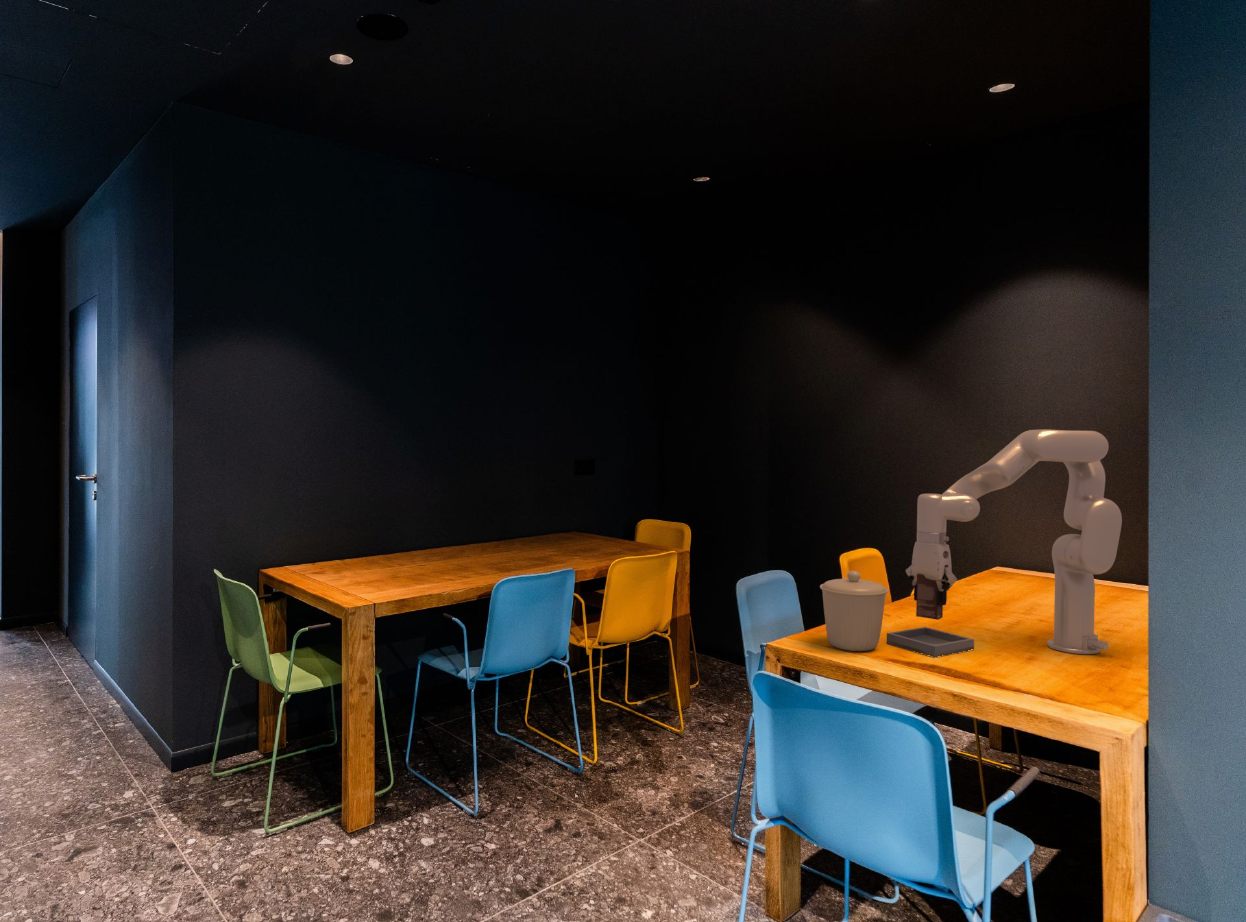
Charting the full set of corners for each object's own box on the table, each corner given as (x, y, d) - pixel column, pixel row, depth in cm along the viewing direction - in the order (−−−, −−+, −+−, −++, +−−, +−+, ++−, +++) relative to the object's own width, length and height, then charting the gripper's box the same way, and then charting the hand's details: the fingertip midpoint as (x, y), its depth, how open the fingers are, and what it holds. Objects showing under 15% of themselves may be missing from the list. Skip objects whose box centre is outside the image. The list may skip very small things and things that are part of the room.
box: (943, 617, 209) (944, 574, 208) (937, 620, 205) (938, 576, 205) (921, 614, 213) (922, 571, 213) (915, 616, 210) (916, 573, 209)
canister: (858, 636, 220) (859, 564, 220) (902, 652, 204) (903, 574, 203) (806, 641, 214) (807, 567, 213) (846, 658, 197) (847, 578, 197)
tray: (973, 650, 206) (974, 639, 206) (934, 657, 198) (934, 646, 198) (924, 636, 220) (925, 626, 220) (886, 643, 212) (886, 633, 212)
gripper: (967, 541, 203) (966, 607, 203) (914, 534, 218) (913, 595, 218) (949, 542, 199) (947, 610, 200) (896, 535, 214) (895, 598, 215)
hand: (929, 602), depth 209 cm, fingers closed on box, 6 cm apart
